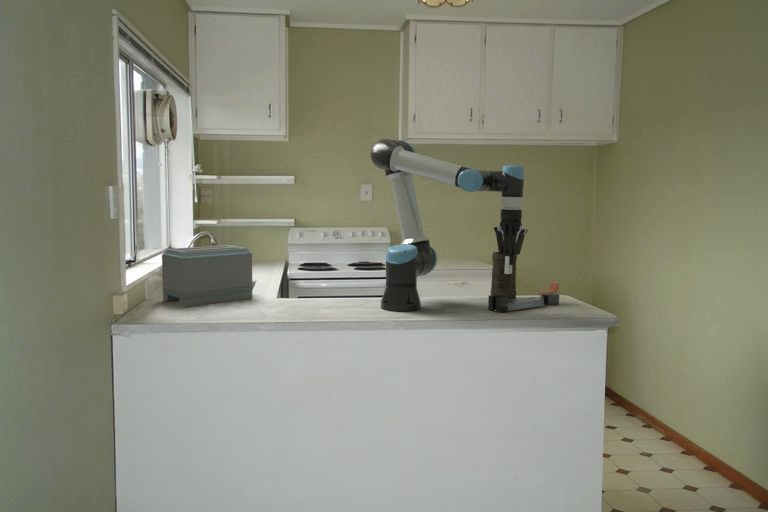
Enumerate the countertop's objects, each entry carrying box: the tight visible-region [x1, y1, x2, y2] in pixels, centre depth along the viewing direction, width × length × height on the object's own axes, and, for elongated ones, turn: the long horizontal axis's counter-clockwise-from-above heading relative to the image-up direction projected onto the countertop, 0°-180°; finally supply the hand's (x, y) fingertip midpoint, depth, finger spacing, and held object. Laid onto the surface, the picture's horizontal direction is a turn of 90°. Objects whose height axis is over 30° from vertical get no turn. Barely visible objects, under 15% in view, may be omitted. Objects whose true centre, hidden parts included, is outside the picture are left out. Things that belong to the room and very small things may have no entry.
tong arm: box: [495, 296, 545, 313], centre depth 238 cm, size 23×2×5 cm, turn 124°
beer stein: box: [490, 251, 518, 300], centre depth 257 cm, size 15×11×20 cm
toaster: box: [161, 244, 253, 308], centre depth 249 cm, size 19×33×20 cm, turn 134°
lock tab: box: [538, 281, 560, 294], centre depth 249 cm, size 8×3×4 cm, turn 122°
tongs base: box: [487, 293, 560, 312], centre depth 243 cm, size 32×5×6 cm, turn 122°
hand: (508, 273), depth 230 cm, fingers closed
